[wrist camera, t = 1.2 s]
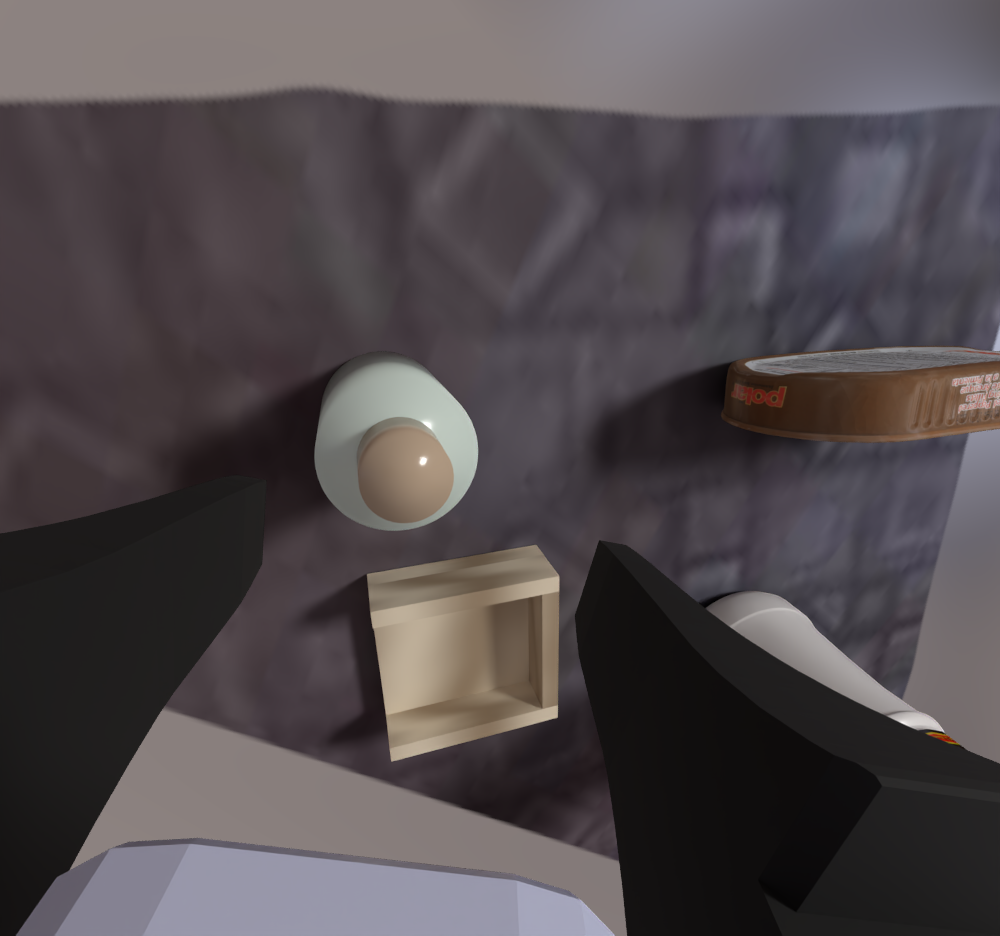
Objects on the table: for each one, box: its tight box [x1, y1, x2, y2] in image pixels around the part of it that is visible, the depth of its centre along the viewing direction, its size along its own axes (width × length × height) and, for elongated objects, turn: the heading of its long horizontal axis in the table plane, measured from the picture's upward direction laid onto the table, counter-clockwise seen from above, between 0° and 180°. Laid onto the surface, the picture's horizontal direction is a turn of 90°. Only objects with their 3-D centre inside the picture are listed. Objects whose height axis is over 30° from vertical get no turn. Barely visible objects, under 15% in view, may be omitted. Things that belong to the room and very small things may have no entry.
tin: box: [721, 346, 1000, 443], centre depth 23 cm, size 15×3×8 cm, turn 92°
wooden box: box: [367, 545, 559, 761], centre depth 25 cm, size 8×8×3 cm
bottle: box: [314, 351, 478, 531], centre depth 18 cm, size 5×5×8 cm
